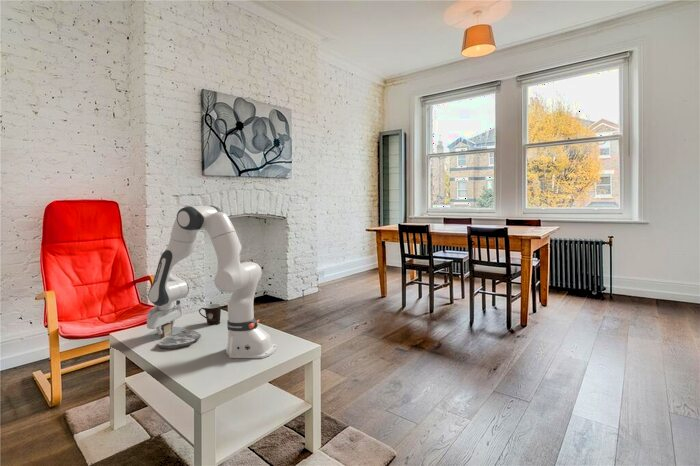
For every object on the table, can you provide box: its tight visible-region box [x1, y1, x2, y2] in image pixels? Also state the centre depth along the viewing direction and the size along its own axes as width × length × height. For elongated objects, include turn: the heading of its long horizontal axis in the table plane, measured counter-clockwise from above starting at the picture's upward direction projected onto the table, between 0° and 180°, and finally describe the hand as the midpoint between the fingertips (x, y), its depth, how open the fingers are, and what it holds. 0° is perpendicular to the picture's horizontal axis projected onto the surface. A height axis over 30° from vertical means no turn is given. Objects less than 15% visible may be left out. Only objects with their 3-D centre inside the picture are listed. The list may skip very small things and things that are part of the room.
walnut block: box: [160, 322, 172, 338], centre depth 183 cm, size 2×6×6 cm, turn 165°
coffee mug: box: [198, 303, 222, 326], centre depth 203 cm, size 12×9×10 cm
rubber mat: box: [138, 326, 187, 341], centre depth 189 cm, size 14×18×1 cm
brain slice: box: [156, 329, 202, 350], centre depth 176 cm, size 20×17×3 cm
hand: (165, 331), depth 183 cm, fingers closed on walnut block, 5 cm apart
